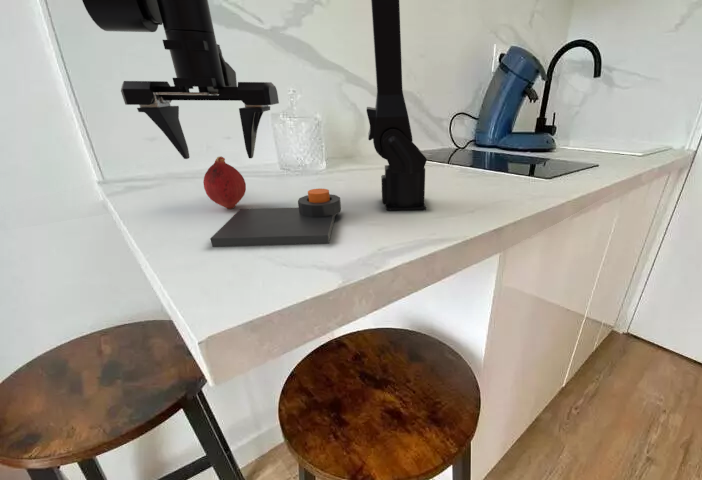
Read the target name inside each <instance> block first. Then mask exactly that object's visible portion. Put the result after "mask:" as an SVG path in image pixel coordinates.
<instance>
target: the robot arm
mask: <svg viewBox="0 0 702 480" xmlns="http://www.w3.org/2000/svg"><path fill="white" fill-rule="evenodd" d="M81 1H82V3H83V6H84V8H85V10H86V12H87V14H88V15H89V17H90V18H91V20H92V21H93V22H94V24H96V26H97V27H99V28H100V29H101V30H103V31H104V32H125V33H127V32H129V33H155V32H157V30H158V29H159V26H163V30H164V33H165V38H166V39H162V43H163V47H164V50H165V51H166V50H167V51H169V53H170V59H171V61H172V65H173V69H174V72H175V73H174V74H175V76H176V77H172V81H173V85H170V83H169V82H168V81H167V80H166V81H165V80H163V81H162V80H161V81H160V80H123V82H122V84H121V88H120V92H121V96H122V99H123V102H124V104H125V106H139V107H136V109H137V112H138V113H144V114H145V115H147V117H148V118H149V119H150V120H151V121H152V122H153V123H154V124H155V125H156V127H158V128H159V129H160V131H161V132H162V133H163V134H164V136H166V138H167V139H168V141H170V143H171V144H172V146H173V147H174V148H175V149H176V151H177V152H178V153H179V155H181V157H182V158H183V160H188V159H190V151H189V147H188V143H187V140H186V138H185V134H184V130H183V127H182V125H181V121H180V116H179V115H180V106H179V105H172V104H171V103H172V101H221V102H222V101H225V102H227V101H231V102H233V101H237V102H238V101H239V102H242V103H243V104H244V107H239V108H238V112H239V118H240V123H241V129H242V135H243V140H244V141H243V142H244V146H245V150H246V151H245V152H246V154H247V157H248V159H253V158H254V154H255V148H256V141H257V135H258V130H259V129H258V128H259V126H260V123H261V119H262V116H263V115H264V113H265V112H269V111H271V106H273V105H277V104H280V102H279V94H278V90H277V87H276V85H274V83H272V82H271V81H269V82H268V81H238V82H237V72H236V70H235V69H234V68H233V67H232V66H231V65H230V64H229V63H228V62H227V61H226V60H225V58H224V56H223V52H222V49H221V45H220V44H217V39H216V34H215V29H214V25H213V20H212V15H211V9H210V5H209V0H81ZM370 3H371V4H370V5H371V17H372V33H373V36H372V37H373V49H374V51H373V53H374V65H375V66H374V67H375V79H376V82H375V83H376V95H375V97H376V98H375V107H372V106H367V107H366V114H367V118H368V123H369V130H368V133H367V134H368V135H367V136H368V137H367V138H368V141H373V147H374V150H375V152H376V153H377V154H378V155H379V156H380V157H381V158H382V159H384V160H386V161H387V164H386V165H384V174H382V175H381V179H380V180H381V184H380V185H381V203H382V204H383V205H384V206H385V208H384V209H385V211H425V210H427V205H426V203H425V197H426V196H425V193H426V191H425V190H426V168H425V166H426V163H427V160H428V159H427V157H426V156H425V155H424V153H423V152H422V150H420V148H419V147H418V146H417V145H416V144H415V143H414V142H413V141H414V140H413V134H412V128H411V123H410V118H409V114H408V109H407V104H406V100H405V96H404V91H403V69H402V40H401V11H400V9H401V8H400V7H401V6H400V0H370ZM194 87H195V88H197V89H198V91H197V92H196V91H195V92H193V91H190V90H194Z"/></svg>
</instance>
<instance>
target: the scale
mask: <svg viewBox="0 0 702 480" xmlns="http://www.w3.org/2000/svg"><path fill="white" fill-rule="evenodd" d="M329 195H330V201H328V202H322V203H313V202H309V198H308V194H307V195H304V196H301V197H299V198H298V200H297V206H298V207H266V208H265V207H261V208H256V207H255V208H240V209H238V211H236V213H234V215H233V216H232V217H231V218H230V219H229V220H228V221H226V223H224V224H223V226H221V227H220V228H219V229H218V230H217V231H216V232H215V233H214V234H213V235H212V236H211V237H210V238H209V239H210V244H211V246H212V247H211V248H227V247H228V248H229V247H261V246H262V247H264V246H265V247H266V246H295V245H296V246H297V245H300V246H301V245H329V244H330V240H331V236H332V232H333V228H334V224H335V220H336V216H337V214H339V213H341V211H342V203H341V197H340V196H338V195H336V194H332V193H329Z"/></svg>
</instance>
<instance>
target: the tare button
mask: <svg viewBox="0 0 702 480" xmlns="http://www.w3.org/2000/svg"><path fill="white" fill-rule="evenodd" d="M329 194H330V190H329V189H327V188H311V189H309V190H308V191H307V195H308V198H309V202H313V203H322V202H328V201H330V195H329Z"/></svg>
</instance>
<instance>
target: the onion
mask: <svg viewBox="0 0 702 480" xmlns="http://www.w3.org/2000/svg"><path fill="white" fill-rule="evenodd" d="M202 183H203V189H204V191H205V193H206V195H207V197H208V198H209V199H210V200H211V201H212V202H214V203H215V204H217V205H219V206H221V207H223V208H225V209H228V210H232V209H234V208H235V207H236V205H237V204H238V203H240V201H242V199H243V198H244V196H245V194H246V191H247V183H246V181H245V178H244V176H243V174H242V173H241V172H240V171H239V170H238V169H236V168H235V167H234V166H232V165H231V164H228V163H226V158H225V157H224V156H217V157H216V158H215V160H214V163H213V164H212V165H210V167H209V168H208V169H207V171H206V172H205V174H204V176H203V182H202Z"/></svg>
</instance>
